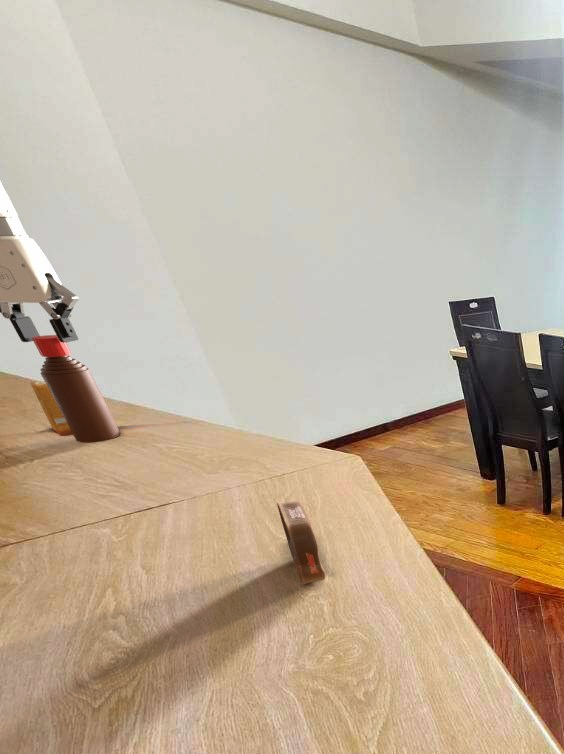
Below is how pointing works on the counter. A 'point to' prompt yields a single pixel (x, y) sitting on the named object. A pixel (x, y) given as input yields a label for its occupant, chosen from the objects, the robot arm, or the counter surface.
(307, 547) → the brown curved block
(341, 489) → the counter surface
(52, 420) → the supplement box
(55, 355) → the cap
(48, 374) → the sauce bottle
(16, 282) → the robot arm
